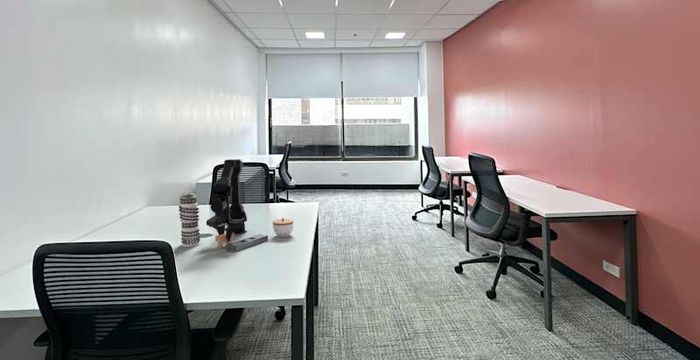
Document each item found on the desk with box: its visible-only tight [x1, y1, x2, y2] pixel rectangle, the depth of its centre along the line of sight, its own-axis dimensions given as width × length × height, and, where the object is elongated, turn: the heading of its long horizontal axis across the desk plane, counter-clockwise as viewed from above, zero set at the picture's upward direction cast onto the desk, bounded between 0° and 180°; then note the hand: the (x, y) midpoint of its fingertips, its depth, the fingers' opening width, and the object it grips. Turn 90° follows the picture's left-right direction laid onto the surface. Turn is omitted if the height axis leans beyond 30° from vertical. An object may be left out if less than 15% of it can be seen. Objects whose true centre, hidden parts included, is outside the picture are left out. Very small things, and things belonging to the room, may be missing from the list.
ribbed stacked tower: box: [178, 192, 201, 248], centre depth 206 cm, size 9×9×25 cm
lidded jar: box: [272, 217, 294, 238], centre depth 221 cm, size 11×11×9 cm
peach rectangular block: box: [214, 232, 235, 249], centre depth 204 cm, size 3×9×6 cm, turn 150°
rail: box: [225, 233, 269, 252], centre depth 205 cm, size 6×22×2 cm, turn 150°
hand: (225, 240), depth 204 cm, fingers open, 4 cm apart
